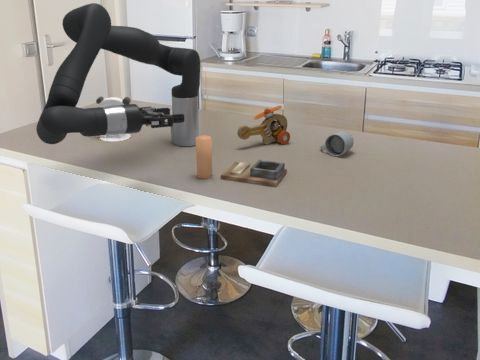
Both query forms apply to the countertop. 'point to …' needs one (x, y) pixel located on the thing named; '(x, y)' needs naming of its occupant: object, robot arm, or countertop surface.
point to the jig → (256, 172)
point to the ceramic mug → (338, 143)
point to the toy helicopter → (268, 128)
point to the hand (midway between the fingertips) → (176, 114)
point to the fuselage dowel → (204, 156)
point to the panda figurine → (109, 102)
